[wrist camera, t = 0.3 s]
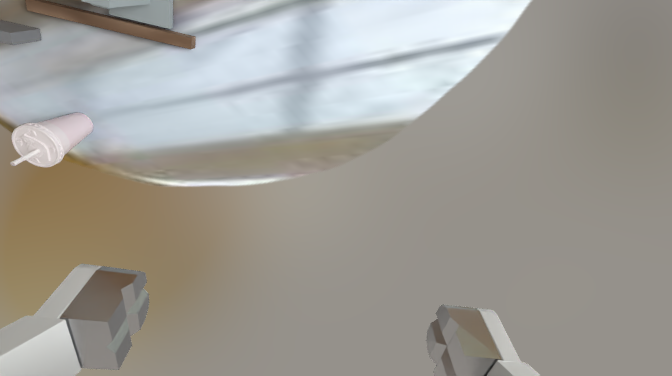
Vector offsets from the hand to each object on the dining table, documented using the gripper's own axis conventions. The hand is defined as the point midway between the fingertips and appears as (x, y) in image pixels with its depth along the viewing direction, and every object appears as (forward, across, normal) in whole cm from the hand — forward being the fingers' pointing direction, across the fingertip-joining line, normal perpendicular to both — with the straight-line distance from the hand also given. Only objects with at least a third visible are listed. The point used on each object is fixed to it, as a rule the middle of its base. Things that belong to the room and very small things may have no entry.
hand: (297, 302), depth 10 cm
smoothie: (+49, +36, +20) cm, 64 cm away
